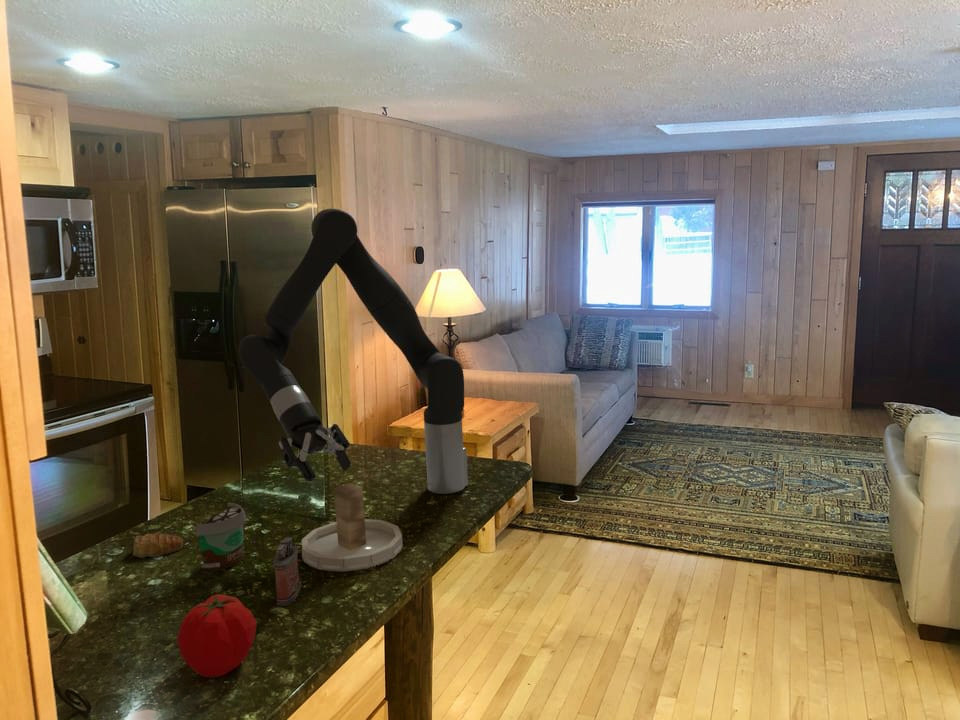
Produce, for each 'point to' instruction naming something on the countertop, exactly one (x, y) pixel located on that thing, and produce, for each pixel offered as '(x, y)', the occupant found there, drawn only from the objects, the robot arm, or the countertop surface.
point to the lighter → (286, 572)
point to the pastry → (156, 545)
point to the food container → (222, 538)
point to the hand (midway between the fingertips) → (330, 473)
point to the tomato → (216, 635)
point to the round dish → (330, 556)
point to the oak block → (350, 516)
